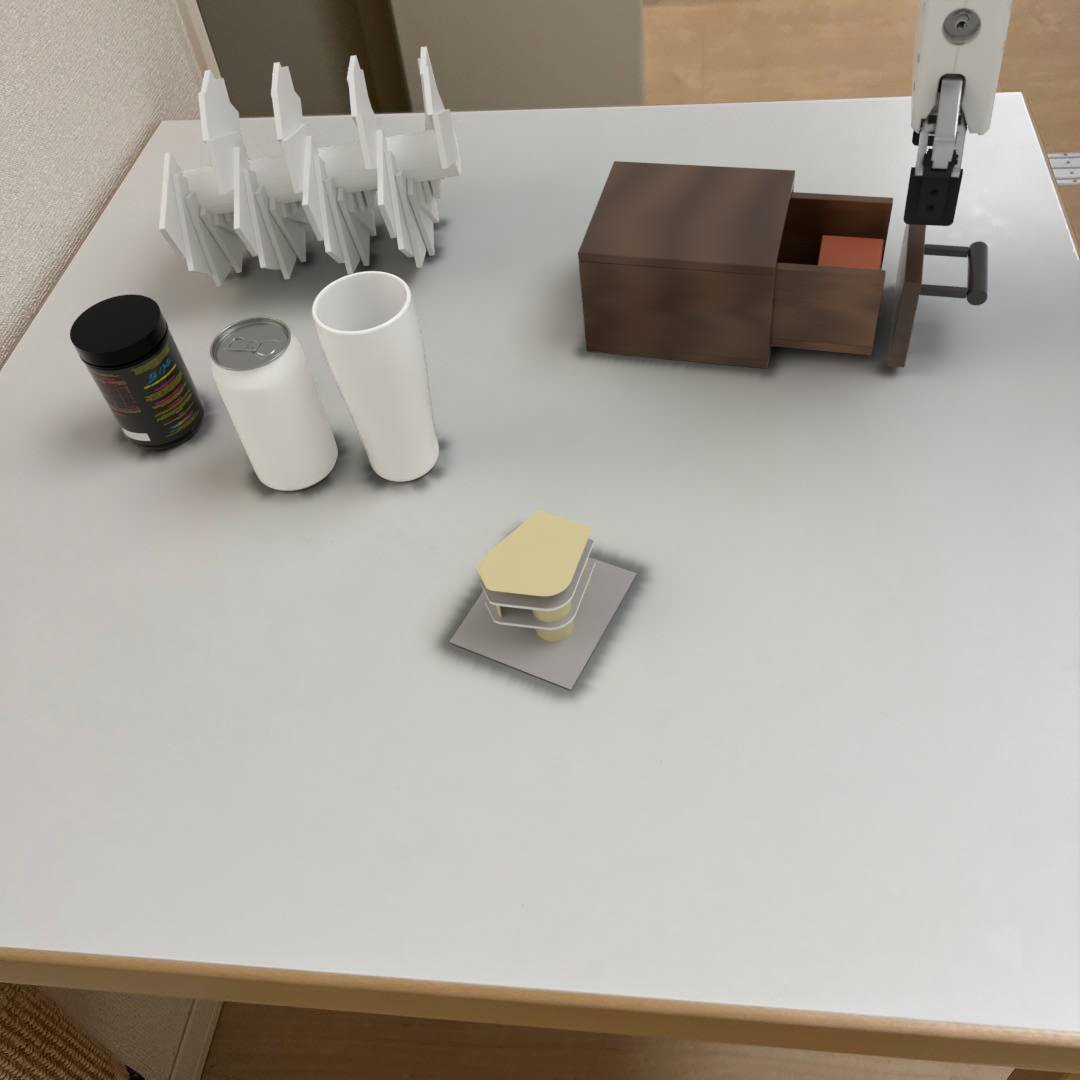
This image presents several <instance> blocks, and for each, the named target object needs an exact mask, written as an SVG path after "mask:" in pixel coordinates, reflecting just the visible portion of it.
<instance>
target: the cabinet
mask: <svg viewBox="0 0 1080 1080" xmlns="http://www.w3.org/2000/svg"><path fill="white" fill-rule="evenodd" d="M795 179H796V170H793V169H777V168H776V169H773V168H757V167H736V166H735V167H734V166H717V165H697V164H677V163H659V162H641V161H640V162H639V161H638V162H637V161H620V160H614V161H613V163H612V166H611V167H610V171H609V174H608V176H607V178H606V180H605V183H604V185H603V188H602V190H601V193H600V196H599V199H598V201H597V203H596V206H595V209H594V211H593V214H592V216H591V219H590V221H589V225H588V227H587V229H586V231H585V234H584V237H583V239H582V242H581V244H580V246H579V248H578V253H577V258H578V272H579V280H580V292H581V293H580V295H581V304H582V315H583V316H582V317H583V325H584V326H583V327H584V335H585V336H584V339H585V348H586V349H585V350H586V352H589V353H600V354H601V353H602V354H612V355H623V356H631V357H642V358H654V359H662V360H664V359H665V360H674V361H685V362H694V363H695V362H696V363H705V364H716V365H726V366H736V367H747V368H757V369H758V368H759V369H768V367H769V362H770V356H771V351H772V348H773V346H770V338H771V326H772V313H773V301H774V289H775V276H776V267H777V262H778V257H779V252H780V248H781V243H782V238H783V233H784V228H785V223H786V219H787V214H788V209H789V204H790V199H791V194H792V192H795V181H796V180H795Z"/></svg>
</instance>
